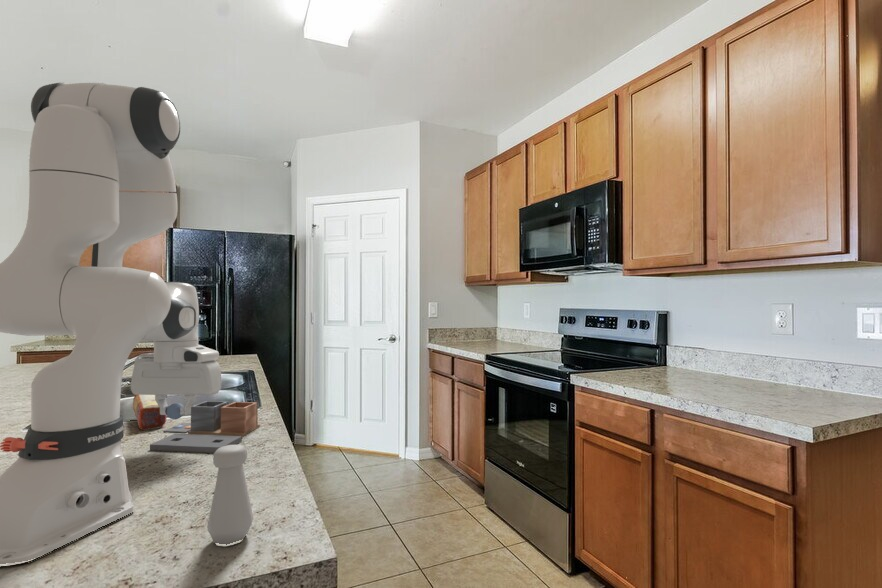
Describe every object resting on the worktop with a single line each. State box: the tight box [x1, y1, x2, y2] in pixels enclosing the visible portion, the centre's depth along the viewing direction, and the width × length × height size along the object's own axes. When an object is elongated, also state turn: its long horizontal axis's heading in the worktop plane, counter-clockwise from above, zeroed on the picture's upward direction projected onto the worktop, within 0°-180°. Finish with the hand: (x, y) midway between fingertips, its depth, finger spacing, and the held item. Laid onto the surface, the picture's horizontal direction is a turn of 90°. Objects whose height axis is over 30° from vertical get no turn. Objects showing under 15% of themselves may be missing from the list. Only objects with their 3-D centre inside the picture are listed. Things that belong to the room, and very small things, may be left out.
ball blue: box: [166, 402, 184, 420], centre depth 103 cm, size 4×4×4 cm
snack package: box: [132, 394, 168, 431], centre depth 125 cm, size 21×7×7 cm, turn 37°
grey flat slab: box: [149, 433, 243, 454], centre depth 104 cm, size 8×17×1 cm, turn 83°
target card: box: [163, 422, 191, 434], centre depth 117 cm, size 7×6×1 cm
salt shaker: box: [206, 444, 254, 545], centre depth 64 cm, size 6×6×13 cm
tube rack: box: [187, 400, 261, 437], centre depth 115 cm, size 8×14×7 cm, turn 83°
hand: (175, 414), depth 103 cm, fingers closed on ball blue, 4 cm apart
